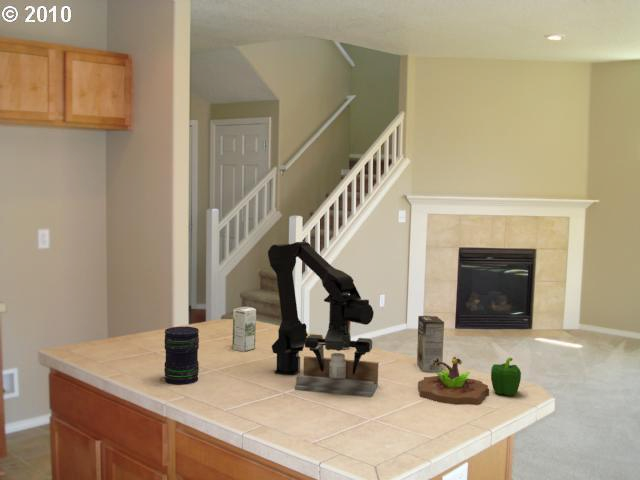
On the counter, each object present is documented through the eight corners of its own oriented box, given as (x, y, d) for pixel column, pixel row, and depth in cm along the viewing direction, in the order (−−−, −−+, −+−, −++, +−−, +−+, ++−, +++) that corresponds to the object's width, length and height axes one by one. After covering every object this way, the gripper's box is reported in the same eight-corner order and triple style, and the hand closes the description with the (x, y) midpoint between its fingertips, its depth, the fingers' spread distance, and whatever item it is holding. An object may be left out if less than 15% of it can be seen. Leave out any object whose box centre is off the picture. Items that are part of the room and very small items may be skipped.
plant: (412, 401, 187) (414, 360, 186) (421, 381, 206) (422, 344, 205) (487, 409, 182) (489, 367, 181) (489, 388, 201) (491, 350, 200)
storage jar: (205, 378, 203) (205, 328, 201) (185, 387, 194) (185, 335, 193) (177, 373, 207) (178, 325, 206) (157, 382, 198) (157, 331, 197)
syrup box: (243, 346, 242) (243, 306, 241) (255, 349, 239) (256, 308, 237) (232, 349, 237) (232, 308, 236) (244, 352, 234) (245, 310, 233)
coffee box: (416, 364, 224) (417, 315, 222) (435, 364, 224) (437, 315, 223) (422, 372, 215) (424, 321, 213) (442, 372, 215) (444, 321, 214)
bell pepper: (504, 399, 189) (506, 364, 188) (484, 391, 197) (486, 356, 196) (527, 395, 193) (529, 360, 192) (506, 387, 200) (508, 354, 200)
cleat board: (294, 389, 194) (295, 365, 193) (304, 379, 204) (305, 356, 204) (371, 397, 189) (372, 372, 188) (377, 385, 199) (378, 362, 199)
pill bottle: (347, 381, 199) (348, 353, 198) (342, 386, 194) (343, 357, 194) (331, 380, 200) (332, 351, 200) (326, 384, 196) (327, 355, 195)
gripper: (300, 322, 190) (299, 377, 191) (367, 327, 186) (365, 383, 187) (310, 314, 201) (309, 367, 202) (373, 319, 197) (371, 372, 198)
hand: (337, 372), depth 197 cm, fingers open, 9 cm apart
